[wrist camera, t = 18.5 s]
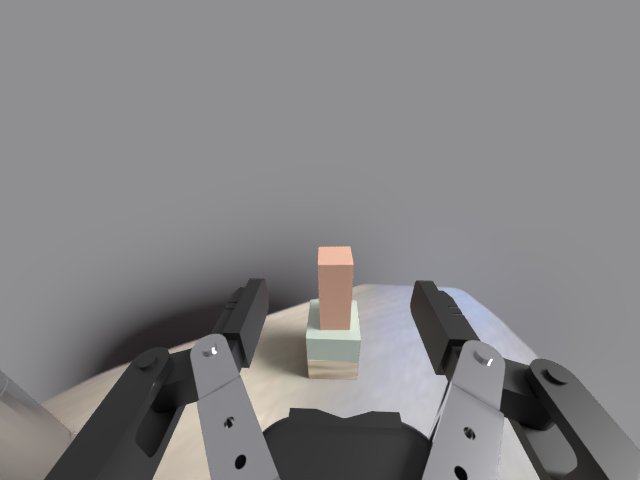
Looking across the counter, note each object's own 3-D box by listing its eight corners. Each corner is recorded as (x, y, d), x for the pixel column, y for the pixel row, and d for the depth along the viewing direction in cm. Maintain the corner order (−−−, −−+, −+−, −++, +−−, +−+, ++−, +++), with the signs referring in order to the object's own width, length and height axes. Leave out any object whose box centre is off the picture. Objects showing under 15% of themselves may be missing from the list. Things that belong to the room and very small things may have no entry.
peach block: (350, 330, 34) (353, 264, 29) (320, 330, 35) (318, 265, 29) (347, 307, 38) (350, 246, 33) (320, 308, 38) (318, 247, 33)
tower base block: (357, 380, 38) (358, 361, 35) (308, 379, 38) (307, 360, 36) (352, 338, 45) (354, 320, 42) (312, 337, 45) (311, 320, 43)
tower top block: (358, 361, 35) (360, 340, 33) (307, 359, 36) (305, 338, 33) (354, 320, 42) (356, 300, 40) (311, 319, 43) (310, 299, 40)
